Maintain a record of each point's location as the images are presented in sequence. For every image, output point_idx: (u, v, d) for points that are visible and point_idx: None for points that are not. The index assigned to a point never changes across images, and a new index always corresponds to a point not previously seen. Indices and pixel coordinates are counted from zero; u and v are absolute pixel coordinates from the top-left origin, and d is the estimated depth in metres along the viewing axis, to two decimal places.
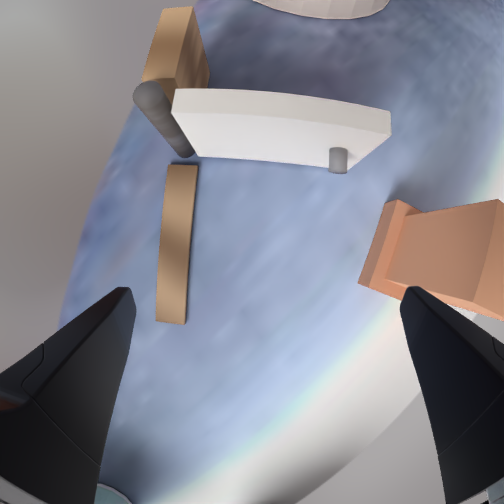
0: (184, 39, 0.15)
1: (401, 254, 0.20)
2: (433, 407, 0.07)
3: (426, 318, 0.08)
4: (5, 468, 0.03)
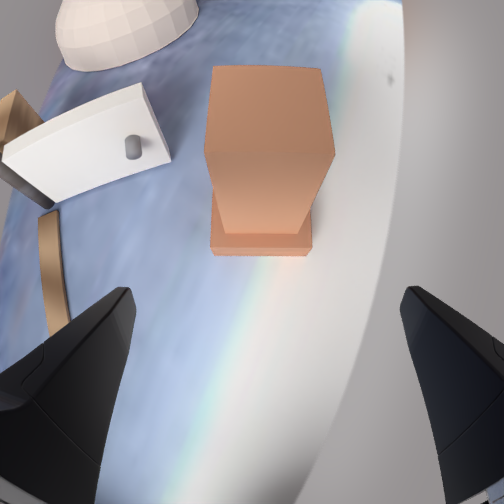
0: (10, 112, 0.17)
1: None
2: (433, 407, 0.07)
3: (426, 318, 0.08)
4: (5, 468, 0.03)
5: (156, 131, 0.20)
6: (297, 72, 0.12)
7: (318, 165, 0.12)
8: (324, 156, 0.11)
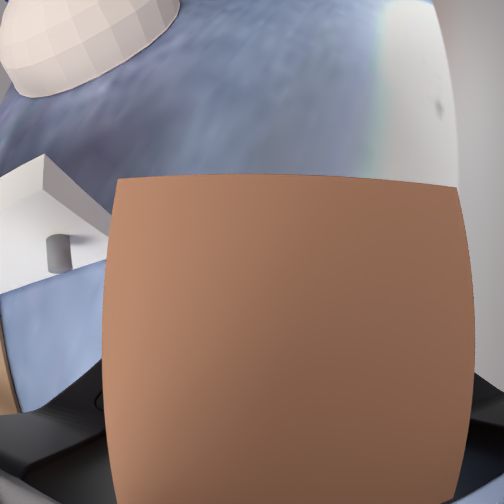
0: None
1: None
2: None
3: None
4: None
5: (90, 226, 0.12)
6: (401, 206, 0.04)
7: None
8: (427, 498, 0.03)
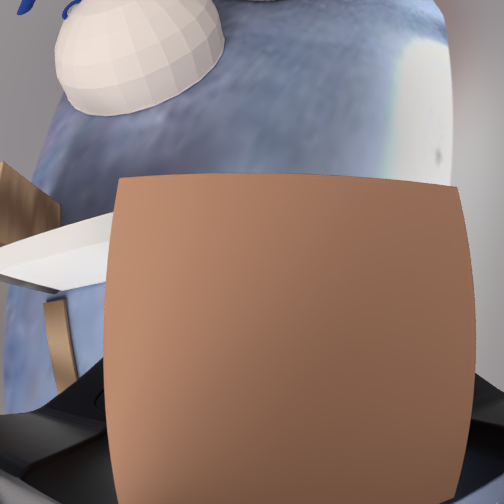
0: None
1: None
2: None
3: None
4: None
5: None
6: (402, 205, 0.04)
7: None
8: (428, 497, 0.03)
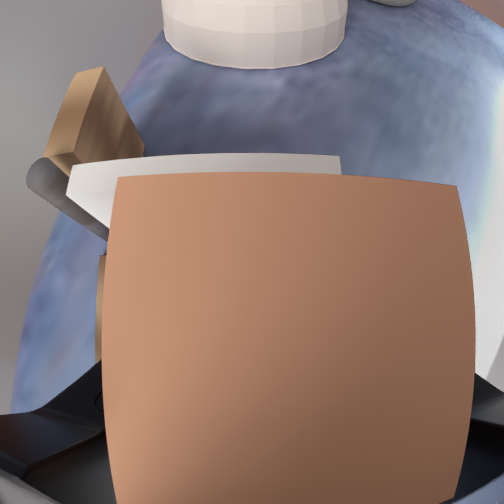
0: (89, 105, 0.13)
1: None
2: None
3: None
4: None
5: None
6: (401, 204, 0.04)
7: None
8: (428, 497, 0.03)
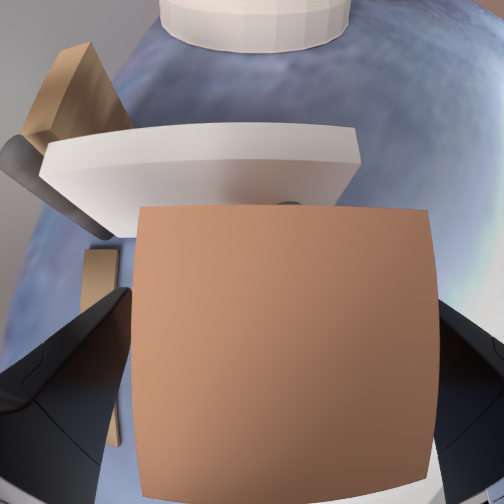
0: (72, 80, 0.11)
1: None
2: None
3: None
4: (5, 468, 0.03)
5: None
6: (375, 229, 0.05)
7: None
8: None
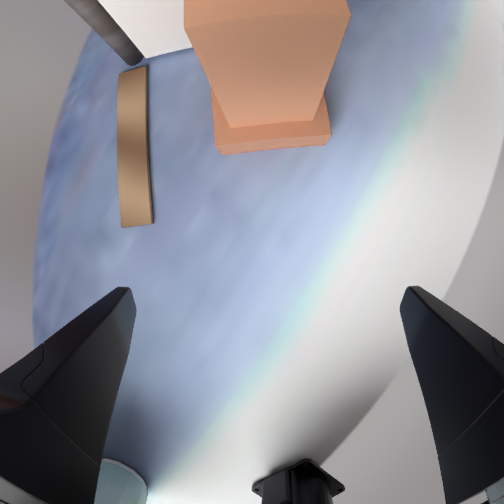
0: None
1: None
2: (433, 407, 0.07)
3: (426, 318, 0.08)
4: (5, 468, 0.03)
5: None
6: None
7: (331, 30, 0.08)
8: (337, 18, 0.07)
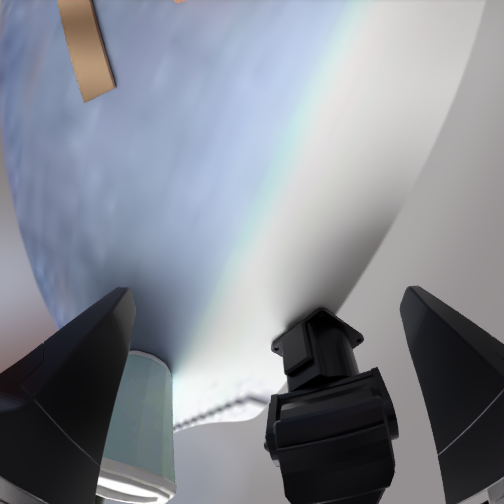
0: None
1: None
2: (433, 407, 0.07)
3: (426, 318, 0.08)
4: (5, 468, 0.03)
5: None
6: None
7: None
8: None
